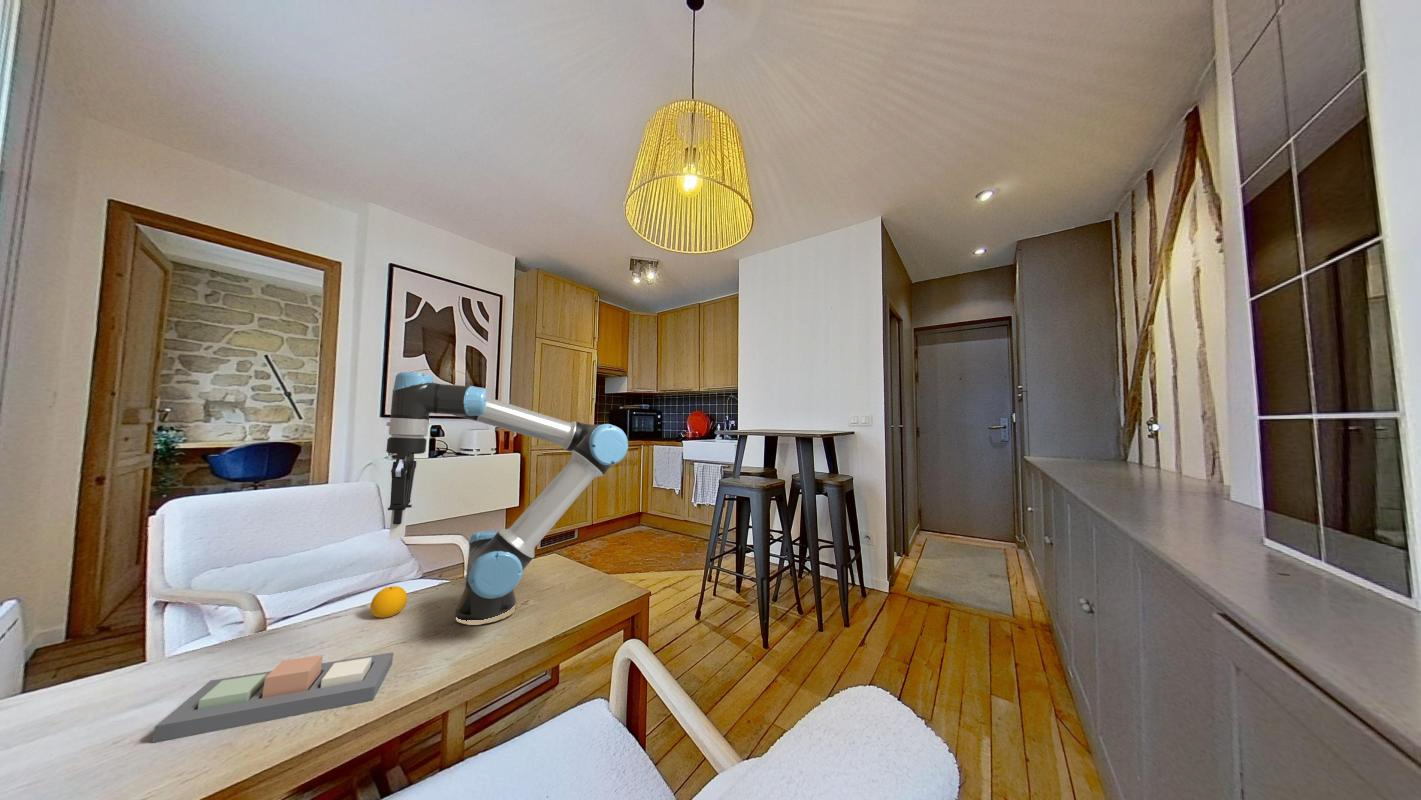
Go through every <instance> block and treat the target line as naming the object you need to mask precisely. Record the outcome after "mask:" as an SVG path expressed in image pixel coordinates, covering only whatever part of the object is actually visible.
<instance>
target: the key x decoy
mask: <svg viewBox="0 0 1421 800" xmlns="http://www.w3.org/2000/svg"><path fill="white" fill-rule="evenodd" d="M323 656H324V654H320V655H319V654H318V655H313V656H306V657H299V658H291V659H285V660H281V661H280V662H279V663H278V664H277V665H276V666H275V667H274V668H273V669H272V670H271V671H272V672H271V673H270V674H269V675H268V676H267V677H266V678H265V682H264V689H263V695H262V698H266V697H272V696H277V695H283V694H289V693H295V692H300V691H306V690H309V689H310V688H311V687H312V685H311V684H312V683H313V682H314V681H315V679H316V678H317V677H318V676H319V674H320V673H321V665H322V663H323Z"/></svg>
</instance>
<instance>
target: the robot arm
mask: <svg viewBox="0 0 1421 800" xmlns="http://www.w3.org/2000/svg"><path fill="white" fill-rule="evenodd" d="M393 384H394V385H393V388H392V393H391V394H392V395H391V396H392V397H391V407H390V414H389V415H390V417H389V418H390V419H389V421H387V422H386V424H385V425H386V426H387V427H388V435H390V436H391V437H388V438H387V442H386V450H385V451H386V453H388V454H391V455H392V454H393V455H394V454H395V455H396V458H395V461H393V462H392V466H391V467H392V468H391V470H390V473H391V474H390V475H391V483H390V485H391V486H390V487H391V488H390V503H389V507H387V511H391V513H390V514H391V516H390V524H389V525H390V526H389V533H388V540H389V539H402V538H404V537H405V536H406V535H405V534H406V528H407V526H406V525H407V518H408V508H409V509H410V508H412V506H413V504H410V503H411V497H412V490H413V485H414V483H413V482H414V479H415V478H414V477H415V472H416V468H417V460H415V455H419V454H424V453H425V452H426V450H427V441H428V440H427V439H426V438H425V437H426V436H428V434H429V424H430V422H429V421H430V414H437V415H438V414H439V415H440V414H442V415H452V416H455V417H458V418H464V419H468V420H471V421H475V422H478V423H479V422H480V423H482V424H486V425H489V426H493V427H497V428H500V429H503V430H506V431H511V432H512V433H513V432H514V433H517V434H521V435H524V436H528V437H532V438H534V439H538V440H541V441H545V442H548V443H552V444H555V445H558V446H561V447H562V448H563V451H564V450H565V451H568V452H571V459H570V460H569V461H568V462H567V463H566V465H565V466H564V467H563V468H562V469H561V470H560V471H559V473H557V475H556V476H555V477H554V478H553V479H552V480H551V481H550V483H548V485H547V486H546V487H545V488H544V489H543V490H542V492H540V493H539V495H537V497H536V498H535V499H534V500H533V502H532V503H530V504H529V506H528V507H527V508H526V509H525V510H524V511H523V512H522V513H521V515H520V516H518V518H517V519H516V520H515V521H514V523H513V524H511V525H510V527H509V528H505V529H493V530H481V531H477V532H474V533H472V534H471V536H470V539H469V542H468V545H469V548H468V557H467V566H466V567H467V568H466V578H465V587H464V591H463V592H462V595H461V596H460V600H459V601H458V604H457V606H456V609H455V614H454V617H455V616H456V617H457V618H458V619H461V620H466V621H467V620H484V619H488V618H492V617H495V616H498V615H500V614H502V613H505V612H507V611H508V610H510V609H511V608H512V607H513V606H514V605H515V603H516V604H517V600H516V596H515V592H514V590H515V588H516V587H517V586H518V584H519V583H520V581H521V578H522V577H523V571H524V570H525V569H526V567H527V566H528V565H529V564H530V563H531V562H532V561H533V559H534V558H535V548H537V546H538V544H540V543H541V541H542V540H543V539H544V537H545V536H547V534H548V533H549V532H550V530H552V528H554V526H555V525H556V524H557V522H559V521H560V519H561V518H562V517H563V516H564V514H565V513H566V511H568V510H569V508H570V507H571V506H572V505H573V504H574V502H575V501H576V500H577V499H578V498H579V496H580V495H581V494H582V493H583V492H584V491H585V490H586V488H587V487H588V486H589V485H590V483H591V482H593V480H594V479H595V478H599V477H603V476H604V475H605V474H606V473H607V471H609V469H610V468H611V467H612V466H614V465H617V464H618V463H620V462H622V460H623V459H624V458H625V457H626V455H627V453H628V450H629V440H628V437H627V435H626V433H625V432H624V430H623V429H622V428H620V427H618V426H616V425H613V424H610V423H604V424H592V423H591V424H587V423H583V422H580V421H579V422H578V421H576V420H574V421H570V422H569V421H566V420H562V419H559V418H556V417H553V416H549V415H547V414H543V413H540V412H536V411H534V410H531V409H527V408H524V407H520V406H517V405H514V404H510V403H507V402H504V401H502V400H498V399H496V398H493V397H492V398H491V397H489V396H487V393H488V391H487V389H486V388H484V387H480V386H479V387H478V386H473V385H469V386H468V385H458V384H444V383H442V384H441V383H437V382H434V377H433V376H432V375H431V374H427V373H419V372H413V371H403V372H402V371H400V372H399V373H397V374H396V375H395V377H394V383H393Z"/></svg>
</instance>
